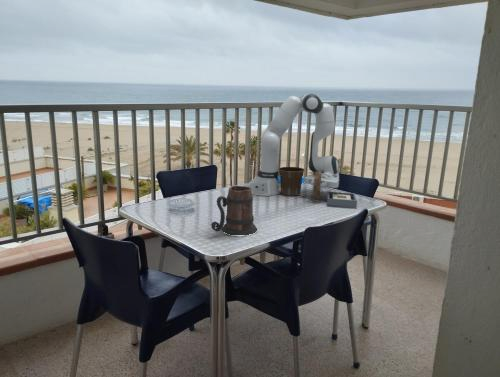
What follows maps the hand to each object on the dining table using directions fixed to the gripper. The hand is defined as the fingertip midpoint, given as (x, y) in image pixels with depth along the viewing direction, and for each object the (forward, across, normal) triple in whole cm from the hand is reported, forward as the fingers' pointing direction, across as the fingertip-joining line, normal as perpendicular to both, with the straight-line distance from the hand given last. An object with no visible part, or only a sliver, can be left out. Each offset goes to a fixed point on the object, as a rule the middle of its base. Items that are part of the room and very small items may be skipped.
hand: (316, 184), depth 210 cm
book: (-32, -35, +12) cm, 49 cm away
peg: (-1, 0, +9) cm, 9 cm away
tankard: (+65, -14, +12) cm, 67 cm away
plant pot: (-9, -21, +12) cm, 25 cm away
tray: (-7, +13, +11) cm, 18 cm away
